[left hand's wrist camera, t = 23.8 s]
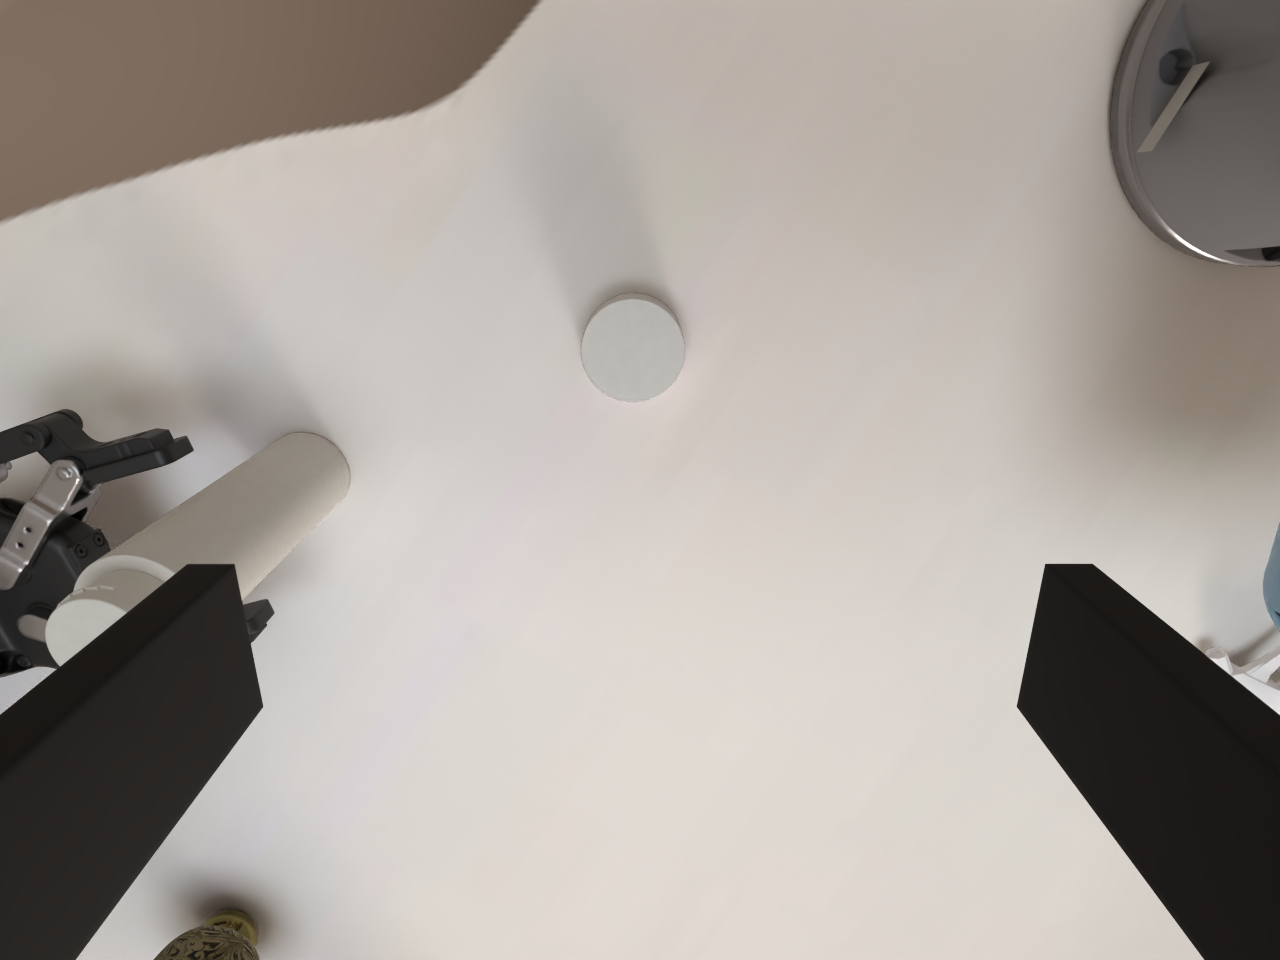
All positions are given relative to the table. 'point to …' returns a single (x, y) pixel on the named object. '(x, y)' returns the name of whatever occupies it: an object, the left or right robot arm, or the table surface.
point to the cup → (216, 939)
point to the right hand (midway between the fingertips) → (224, 534)
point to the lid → (633, 348)
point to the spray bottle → (1253, 674)
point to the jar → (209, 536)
